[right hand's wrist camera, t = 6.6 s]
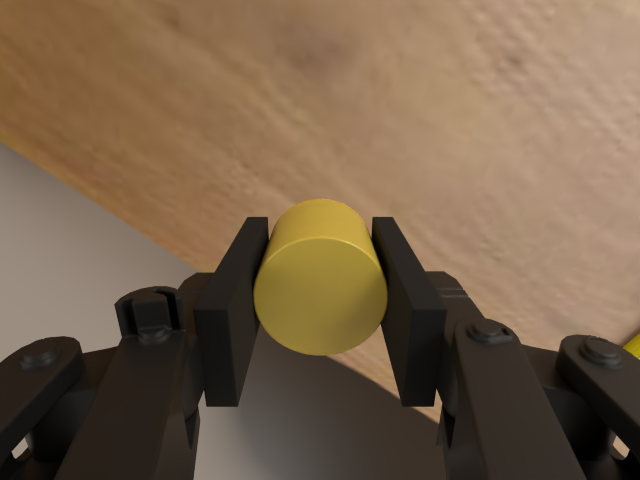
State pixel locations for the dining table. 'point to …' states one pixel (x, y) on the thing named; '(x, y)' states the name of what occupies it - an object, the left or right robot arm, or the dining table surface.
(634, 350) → the pencil
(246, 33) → the dining table surface
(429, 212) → the dining table surface
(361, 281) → the yellow cylinder
